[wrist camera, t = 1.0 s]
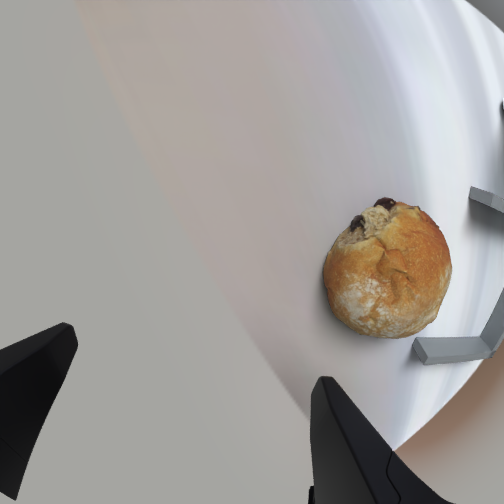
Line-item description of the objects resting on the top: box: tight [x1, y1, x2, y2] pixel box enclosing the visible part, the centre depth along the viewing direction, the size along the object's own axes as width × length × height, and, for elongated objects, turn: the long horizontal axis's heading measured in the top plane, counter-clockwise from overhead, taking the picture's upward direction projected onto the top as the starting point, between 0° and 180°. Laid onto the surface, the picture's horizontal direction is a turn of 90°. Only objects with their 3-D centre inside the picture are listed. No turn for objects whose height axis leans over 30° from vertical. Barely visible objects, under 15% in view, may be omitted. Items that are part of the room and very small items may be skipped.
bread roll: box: [323, 197, 452, 339], centre depth 17 cm, size 10×10×8 cm
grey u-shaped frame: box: [412, 186, 504, 365], centre depth 18 cm, size 16×12×3 cm
